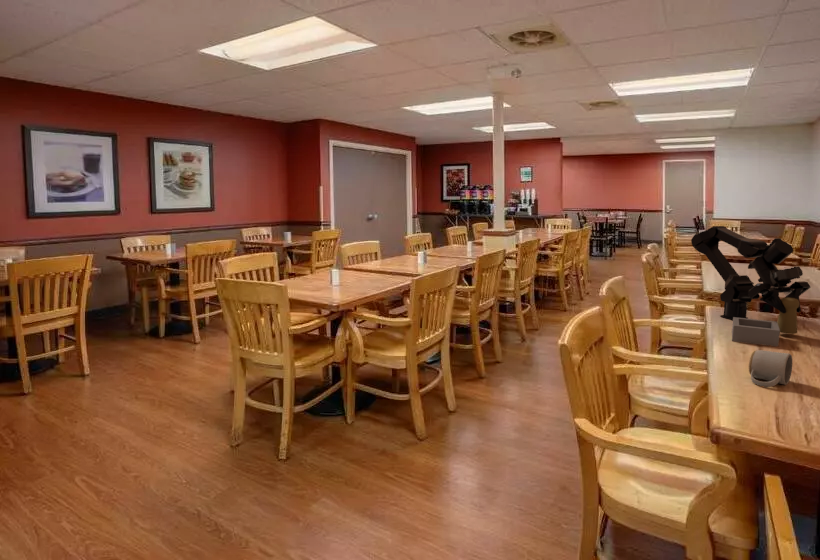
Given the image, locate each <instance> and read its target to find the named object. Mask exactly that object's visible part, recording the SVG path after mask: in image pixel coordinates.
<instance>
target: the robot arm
mask: <svg viewBox="0 0 820 560" xmlns="http://www.w3.org/2000/svg"><path fill="white" fill-rule="evenodd" d="M692 236H693V237H692V238H691V246H692V247H693V248H694V249H695V250H696V251H697V252H698V253H700V254H703V255H704V256H706V258H707V259H708V261H709V262H710V263H711V265H712V266H713V267H714V269H715V270H716V271H717V273H718V274H719V275H720V277H721V278H722V280H723V282H724V290H723V292H722V293H720V296H719V297H720V301H722V302H724V304H723V305H724V307H723V314H722V315H721V314H720V315H719V317H721V318H725V319H729V320H732V321H733V317H737V318H747V319H749V317H747V312H748V311H747V310H748V307H747V303H751V302H752V300H759V301H761V302H764V303H766V304H768V305H769V306H771V307H773V309H775V310H777V311H779V313H780V312H782V313H786V309H785V307H784V305H783V303H782V301H781V299H782V298H780V294H781V293H782V294H784V295H785V297H790V298H795V299H797V300H799V307H798V308H797V314H798V313H800V312H801V311H802V310H801V303H800V296H802V295H803V294H804V293H806V292H807V291H808V290H809V289H811V285H810V284H809V282H808V281H804V280H802V281H801V280H800V281H798V280H797V281H794V282H793V283H792V280H795V279H800V278H801V277H802V276H803V275H804V273H803V269H802V268H801V267H800V266H794V267H790V268H785V269H778V267H777V265H779V264H781V263H782V262H784V261H785V260H786V259H787V258H788V257H790V256H791V254H793V252H794V248H793V246H792V245H791V244H790V243H789V242H786V241H785V240H783V239H782V238H779V237H778V238H776V237H775V238H774V239H773V240H772V241H771V242H769V244H768V243H767V242H766V241H765V240H760V239H757V238H748V237H746V236H744V235H741V234H739V233H737V232H735V231H733V230H731V229H729V228H727V227H726V226H724V225H715V226H712V227H709V228H708V229H706V230H703V231H700V232H698V233H695V234H694V235H692ZM721 241H722V242H724V243H725V244H728V245H730V246H732V247H734V248H735V249H736V250H737V253H738V254H740V255H741V256H742V257H743V258H746V259H749V258H750V259H751V258H754V259H753V260H749V264H748V266H747V269H750V270H755V272H756V274H757V275H758V277H759V278H758V279H757V281H758V282H757V283H756V284H755V282H753V281H752V280H751V278H750V277H749V276H748V275H747V274H746V275H743V274H742V275H740V274H739V273H738V272H737V271H736V269H735V268H734V267H733V266H732V264H731V263H730V262H729V260H728V259H727V257H725V255H724V254H723V252H722V251H721V250H720V248H719V247H720V245H719V244H720V243H719V242H721ZM754 284H755V285H754ZM789 284H791V285H789ZM760 295H761V296H760Z"/></svg>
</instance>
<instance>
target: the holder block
mask: <svg viewBox="0 0 820 560" xmlns="http://www.w3.org/2000/svg"><path fill="white" fill-rule="evenodd" d="M780 333H781V332H780V329H779V326H778V323H777V320H776V321H775V320H774V321H773V320H765V319H757V318H748V319H747V318H737V317H733V320H732V328H731V341H732V342H737V343H743V344H744V343H746V344H752V345H753V344H754V345H761V344H762V345H761V346H769V345H771V346H770V347H777V346H778V347H779V341H780Z"/></svg>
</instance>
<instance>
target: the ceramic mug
mask: <svg viewBox="0 0 820 560" xmlns="http://www.w3.org/2000/svg"><path fill="white" fill-rule="evenodd" d="M792 371H793V356H792V354H791V353H787V352H786V353H785V352H779V351H778V352H777V351H771V350H763V349H762V350H761V349H758V350H757V349H756V350H754V351H753V352H752V353H751V354H750V357H749V361H748V373H749V374H750V380H751V382H752V383H753V384H754V383H755V384H754V385H756V384H757V385H756V386H758V385H760V386H759V387H761V386H764V387H763V388H771V387H775V386H776V385H777V384H780V385H785V386H786V385H788V384H789V382H790V380H791V377H792ZM755 378H756V379H755ZM758 379H759V380H758ZM760 380H761V381H760ZM762 380H764V381H762Z"/></svg>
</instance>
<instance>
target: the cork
mask: <svg viewBox="0 0 820 560" xmlns="http://www.w3.org/2000/svg"><path fill="white" fill-rule="evenodd" d="M780 299H781V301H782V303H783V305H784V307H785V309H786V313H782V312H780V311H779V313H778V317H777V320H776V321H777V323H778V326H779V329H780V333H783V334H790V335H794V334H797V333H798V312H797V308H798V307H799V301H800V299H799V300H797V299H795V298H790V297H786V296H785V297H782V298H780Z"/></svg>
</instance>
